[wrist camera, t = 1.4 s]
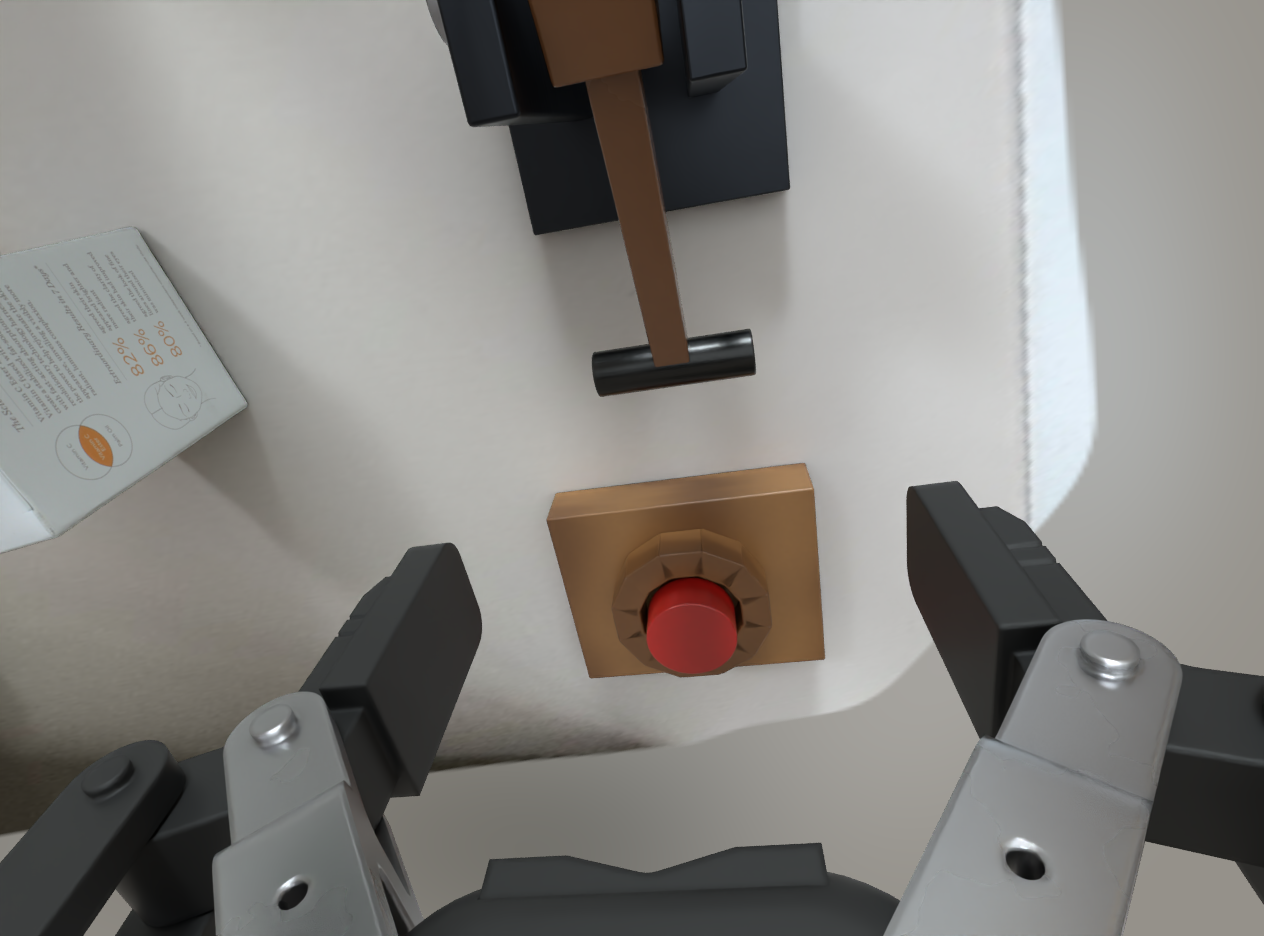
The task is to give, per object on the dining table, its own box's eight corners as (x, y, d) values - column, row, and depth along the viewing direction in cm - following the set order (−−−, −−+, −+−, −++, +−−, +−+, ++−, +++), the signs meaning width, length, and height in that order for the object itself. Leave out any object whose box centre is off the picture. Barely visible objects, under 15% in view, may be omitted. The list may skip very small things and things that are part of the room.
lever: (749, 339, 22) (758, 396, 21) (601, 361, 23) (601, 417, 22) (714, -191, 12) (729, -142, 10) (438, -118, 12) (419, -63, 11)
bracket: (785, 186, 24) (874, 249, 13) (540, 230, 25) (420, 324, 14) (756, -230, 19) (856, -733, 8) (454, -149, 20) (162, -478, 9)
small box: (29, 268, 27) (-311, 346, 18) (140, 222, 26) (-162, 282, 17) (151, 440, 31) (-82, 583, 21) (254, 407, 30) (55, 542, 20)
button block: (595, 646, 34) (584, 707, 31) (555, 492, 30) (537, 542, 27) (816, 626, 33) (832, 688, 29) (805, 461, 29) (821, 510, 25)
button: (655, 648, 29) (654, 678, 28) (641, 581, 28) (639, 608, 26) (739, 641, 29) (741, 670, 27) (729, 572, 27) (732, 600, 26)
